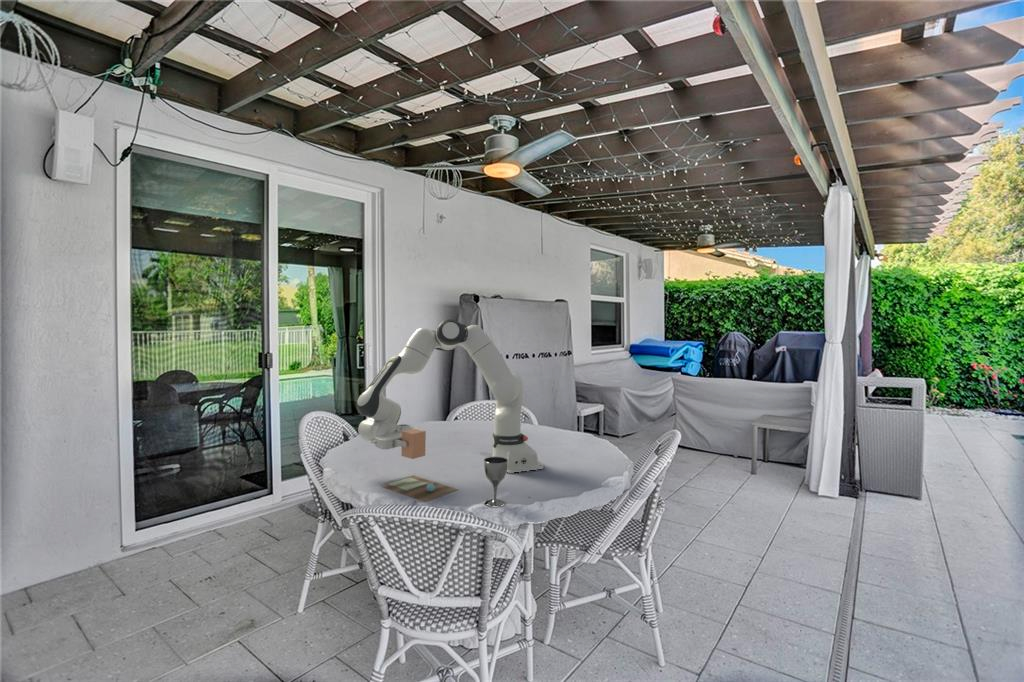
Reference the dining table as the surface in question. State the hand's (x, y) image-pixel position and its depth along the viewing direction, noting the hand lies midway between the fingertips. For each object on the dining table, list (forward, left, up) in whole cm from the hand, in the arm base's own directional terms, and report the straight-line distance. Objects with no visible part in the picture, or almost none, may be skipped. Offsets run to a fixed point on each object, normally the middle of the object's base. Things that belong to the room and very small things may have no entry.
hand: (415, 442), depth 186 cm
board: (-2, +2, -17) cm, 17 cm away
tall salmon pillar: (+1, -1, -5) cm, 5 cm away
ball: (-5, +6, -15) cm, 17 cm away
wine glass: (-26, +18, -17) cm, 36 cm away
